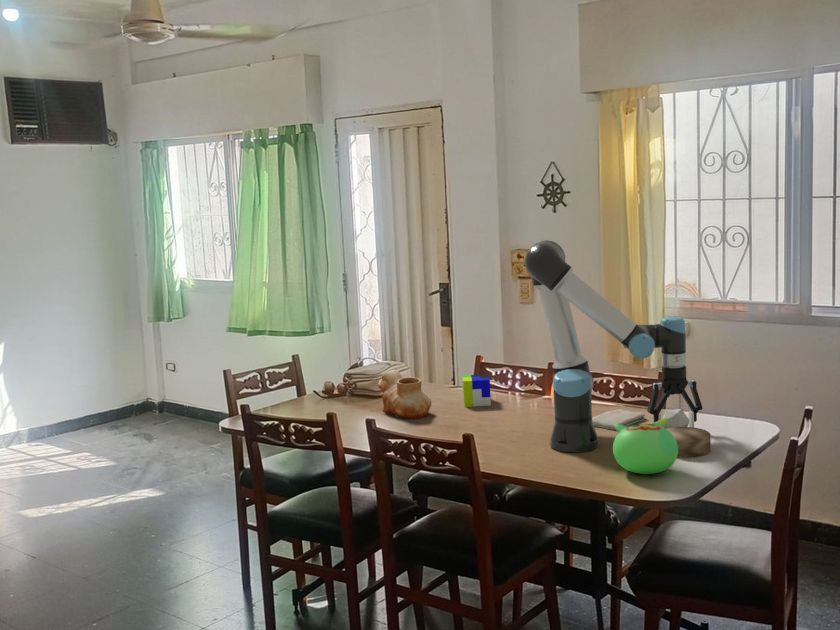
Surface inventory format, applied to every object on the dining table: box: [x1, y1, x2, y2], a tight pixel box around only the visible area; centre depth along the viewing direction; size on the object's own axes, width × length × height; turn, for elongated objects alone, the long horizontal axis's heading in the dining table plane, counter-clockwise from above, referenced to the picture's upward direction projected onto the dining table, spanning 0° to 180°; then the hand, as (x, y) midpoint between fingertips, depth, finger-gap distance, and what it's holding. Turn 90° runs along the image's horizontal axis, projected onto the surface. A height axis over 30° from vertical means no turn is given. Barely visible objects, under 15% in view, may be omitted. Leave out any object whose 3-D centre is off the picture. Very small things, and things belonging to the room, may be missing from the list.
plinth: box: [666, 426, 712, 459], centre depth 277 cm, size 15×15×5 cm
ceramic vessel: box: [377, 369, 432, 420], centre depth 342 cm, size 14×26×15 cm, turn 34°
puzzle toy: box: [461, 373, 492, 408], centre depth 349 cm, size 10×10×10 cm
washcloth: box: [592, 408, 646, 431], centre depth 311 cm, size 12×18×3 cm, turn 134°
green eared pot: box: [612, 417, 678, 475], centre depth 259 cm, size 18×17×15 cm
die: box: [661, 408, 690, 429], centre depth 294 cm, size 8×9×10 cm
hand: (675, 432), depth 294 cm, fingers open, 10 cm apart
